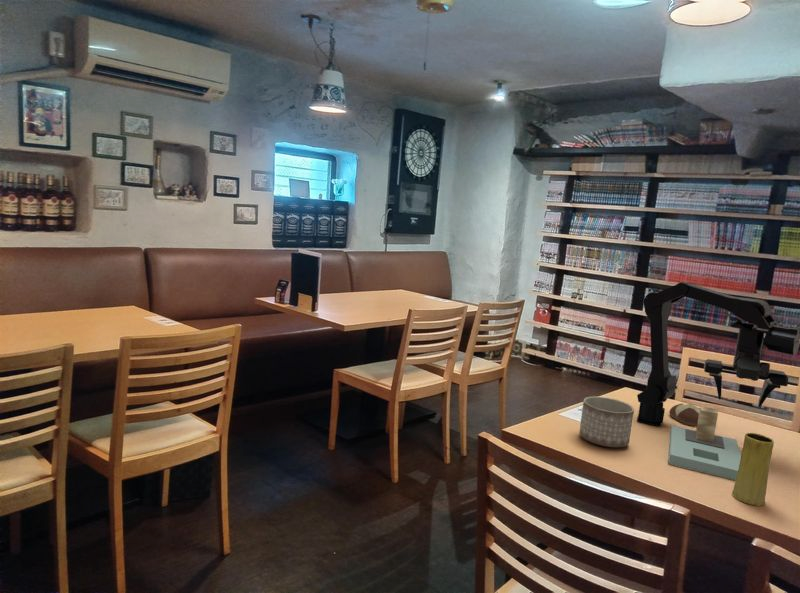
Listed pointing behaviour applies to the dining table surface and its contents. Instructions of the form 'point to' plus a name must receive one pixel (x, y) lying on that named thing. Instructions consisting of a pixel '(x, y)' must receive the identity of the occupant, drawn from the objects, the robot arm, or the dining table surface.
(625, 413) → the planter
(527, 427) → the dining table surface
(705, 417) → the maple block
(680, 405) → the bread
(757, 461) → the vase
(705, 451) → the pocket board
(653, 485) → the dining table surface
